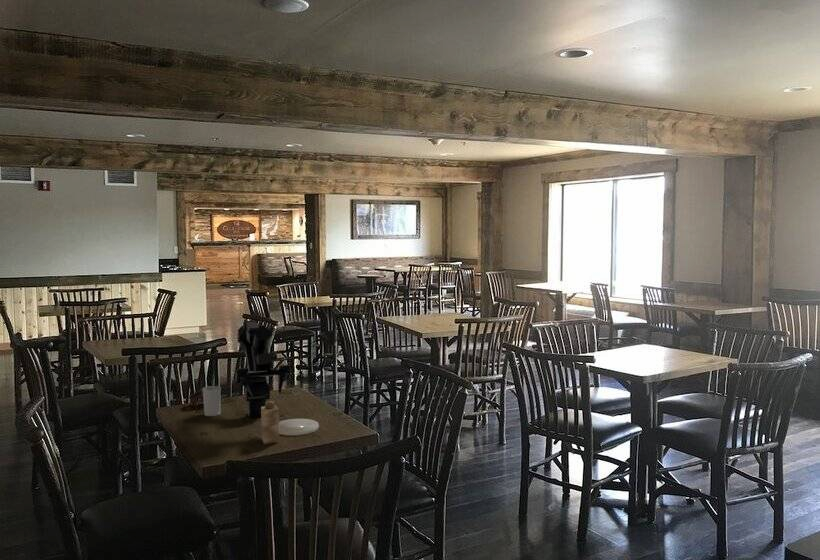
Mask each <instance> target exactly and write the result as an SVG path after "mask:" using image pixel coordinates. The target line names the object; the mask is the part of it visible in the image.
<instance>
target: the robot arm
mask: <svg viewBox="0 0 820 560" xmlns="http://www.w3.org/2000/svg"><path fill="white" fill-rule="evenodd" d="M236 334H237V336H236V339H237V344H238V345H239V348H240V350H242V351H243V352H244V353H245V360H246V367H240V368H237V369H236V370H235V383H236V384H239V385H240V386H242V387H244V400H245V402H247V412H246V414H247V416H248V418H249V419H252V418H253V419H254V418H261V407H265V402H266V401H267V400H269V399H270V398H271V386H270V384H269V383H268V380H267V377H272V376H274V377H275V376H277V378H278V380H277V383H278V384H277V385H278V394H279V395H281V394H282V389H283V384H284V382H287V380H289V379H290V378H291V375H292V366H291V365H290V364H282V365H281V364H280V365H278V369H272V368H273V362H277V361H278V353H277V351H271V352H270V353H269V347H270V343H271V338H272V337H273V334H272V331H271V330H270V329H269V328H267V327H266V326H265V325H264V324H261V325H259V324H258V322H257V320H245V321H243V323H242V325H241V326H240V327H239V328H238V329H237V333H236Z"/></svg>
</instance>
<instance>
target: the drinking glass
mask: <svg viewBox="0 0 820 560" xmlns="http://www.w3.org/2000/svg"><path fill="white" fill-rule="evenodd" d="M202 388H203V387H202ZM221 393H222V387H221V386H220V385H219V386H218V385H209V386H204V388H203V394H202V397H203V398H202V399H203V413H204V416H205V417H215V416H220V415H221V405H222V402H221V401H222V400H221V399H222V395H221Z"/></svg>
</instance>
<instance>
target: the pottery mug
mask: <svg viewBox="0 0 820 560" xmlns="http://www.w3.org/2000/svg"><path fill="white" fill-rule="evenodd" d="M204 387H205V386H204ZM204 387H201V388H199V389H198V390H196V391H195V392H194V393H193V394H191V395H189V396H188V399H189V404H191V403H193V404H194V405H197V404H198V399H203V388H204Z"/></svg>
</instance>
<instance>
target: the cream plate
mask: <svg viewBox="0 0 820 560" xmlns="http://www.w3.org/2000/svg"><path fill="white" fill-rule="evenodd" d="M318 428H320V425H319V422H318V421H316V420H313V419H309V418H290V419H283V420H279V436H280V435H281V436H287V437H288V436H290V437H291V436H292V437H293V436H294V437H295V436H304V435H308V434H309V435H310V434H312V432H313V433H315V432H316V430H317V431H318V430H319V429H318Z"/></svg>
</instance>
